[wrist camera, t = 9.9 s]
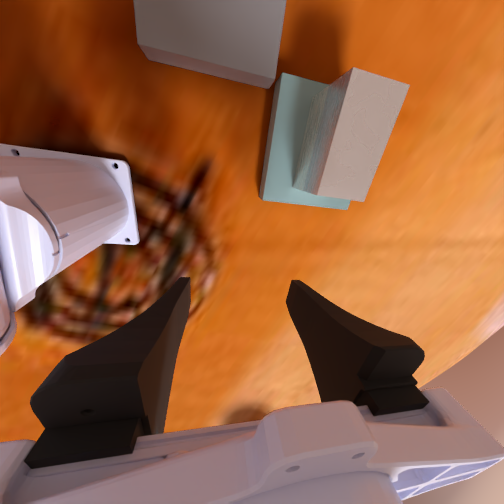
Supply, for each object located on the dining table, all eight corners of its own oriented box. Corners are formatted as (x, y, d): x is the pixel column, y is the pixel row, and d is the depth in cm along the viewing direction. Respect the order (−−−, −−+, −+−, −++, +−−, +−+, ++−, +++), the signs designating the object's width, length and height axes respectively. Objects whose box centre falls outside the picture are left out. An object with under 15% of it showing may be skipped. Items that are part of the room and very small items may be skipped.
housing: (292, 187, 17) (317, 195, 13) (312, 97, 14) (353, 67, 10) (328, 192, 18) (363, 201, 14) (354, 108, 15) (409, 85, 11)
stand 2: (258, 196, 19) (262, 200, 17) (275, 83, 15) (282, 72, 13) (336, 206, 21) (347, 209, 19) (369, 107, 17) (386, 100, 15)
